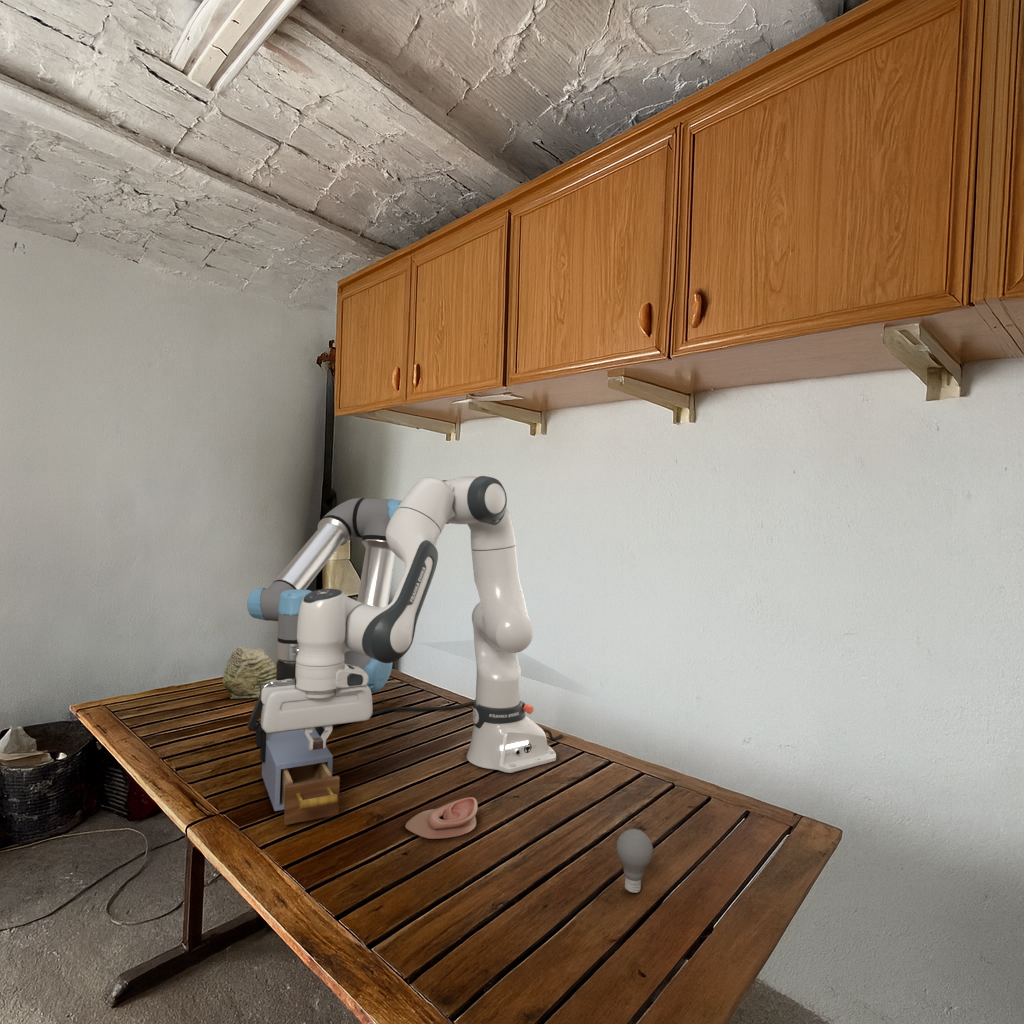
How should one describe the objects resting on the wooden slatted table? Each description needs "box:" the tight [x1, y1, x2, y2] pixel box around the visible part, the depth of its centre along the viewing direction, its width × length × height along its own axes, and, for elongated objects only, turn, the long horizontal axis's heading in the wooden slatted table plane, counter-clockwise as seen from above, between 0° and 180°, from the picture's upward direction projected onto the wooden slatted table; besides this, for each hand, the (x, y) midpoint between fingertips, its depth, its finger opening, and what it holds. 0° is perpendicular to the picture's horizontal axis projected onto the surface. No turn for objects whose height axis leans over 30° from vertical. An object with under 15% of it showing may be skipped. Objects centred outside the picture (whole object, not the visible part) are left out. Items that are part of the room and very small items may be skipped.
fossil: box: [222, 646, 277, 699], centre depth 198 cm, size 9×18×15 cm, turn 132°
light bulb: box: [615, 828, 654, 894], centre depth 106 cm, size 6×6×10 cm
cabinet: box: [261, 728, 334, 812], centre depth 137 cm, size 18×11×9 cm, turn 29°
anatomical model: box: [404, 796, 479, 840], centre depth 124 cm, size 13×4×12 cm
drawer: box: [280, 762, 341, 826], centre depth 127 cm, size 22×10×7 cm, turn 29°
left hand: (290, 755), depth 143 cm, fingers closed on cabinet, 11 cm apart
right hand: (316, 748), depth 120 cm, fingers closed
